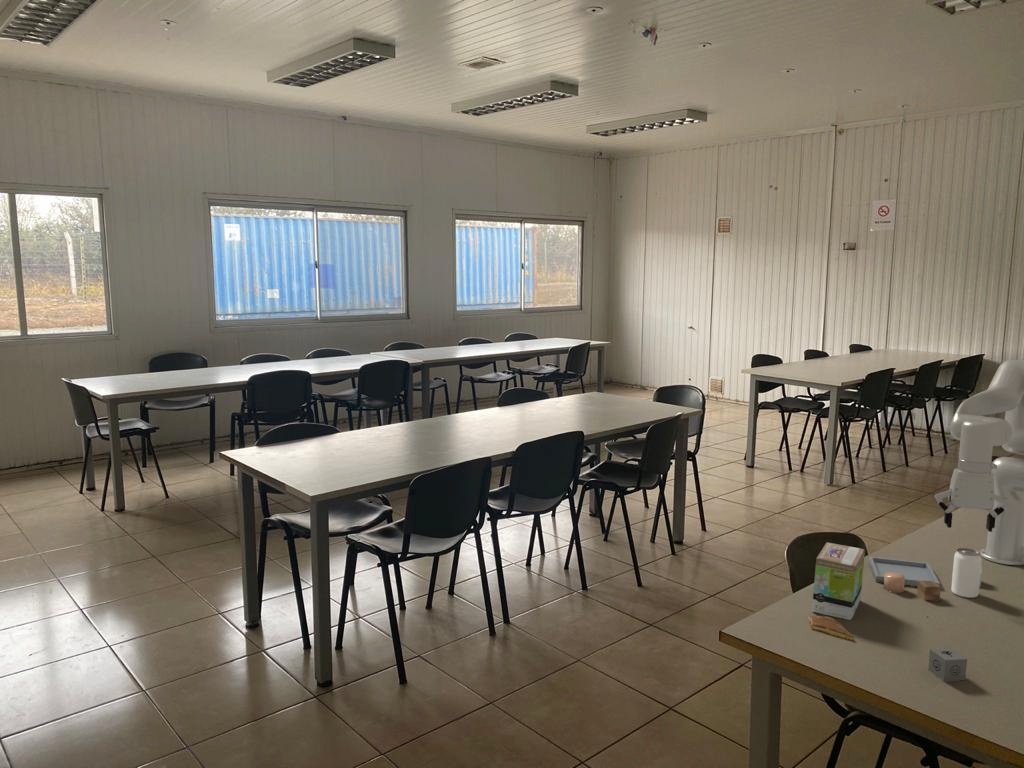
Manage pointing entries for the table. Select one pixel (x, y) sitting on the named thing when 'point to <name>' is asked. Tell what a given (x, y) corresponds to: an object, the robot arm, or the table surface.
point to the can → (966, 573)
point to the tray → (902, 570)
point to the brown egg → (894, 582)
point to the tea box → (838, 580)
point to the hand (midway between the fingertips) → (968, 528)
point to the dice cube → (947, 664)
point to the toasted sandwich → (829, 626)
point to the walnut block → (928, 590)
